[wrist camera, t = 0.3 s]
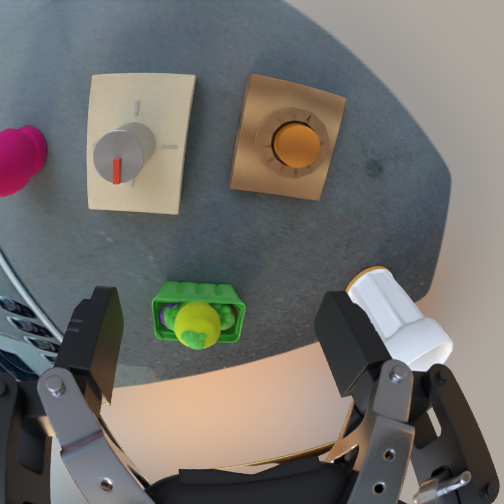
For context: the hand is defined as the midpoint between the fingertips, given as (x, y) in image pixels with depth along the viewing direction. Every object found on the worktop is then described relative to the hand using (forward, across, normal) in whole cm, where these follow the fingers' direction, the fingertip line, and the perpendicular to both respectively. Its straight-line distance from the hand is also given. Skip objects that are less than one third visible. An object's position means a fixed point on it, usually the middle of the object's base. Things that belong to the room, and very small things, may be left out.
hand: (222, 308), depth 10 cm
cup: (+22, -26, +17) cm, 38 cm away
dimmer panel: (+21, +8, -2) cm, 23 cm away
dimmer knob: (+18, +8, -2) cm, 20 cm away
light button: (+18, -7, -4) cm, 20 cm away
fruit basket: (+22, 0, +18) cm, 28 cm away
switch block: (+21, -7, -4) cm, 23 cm away
